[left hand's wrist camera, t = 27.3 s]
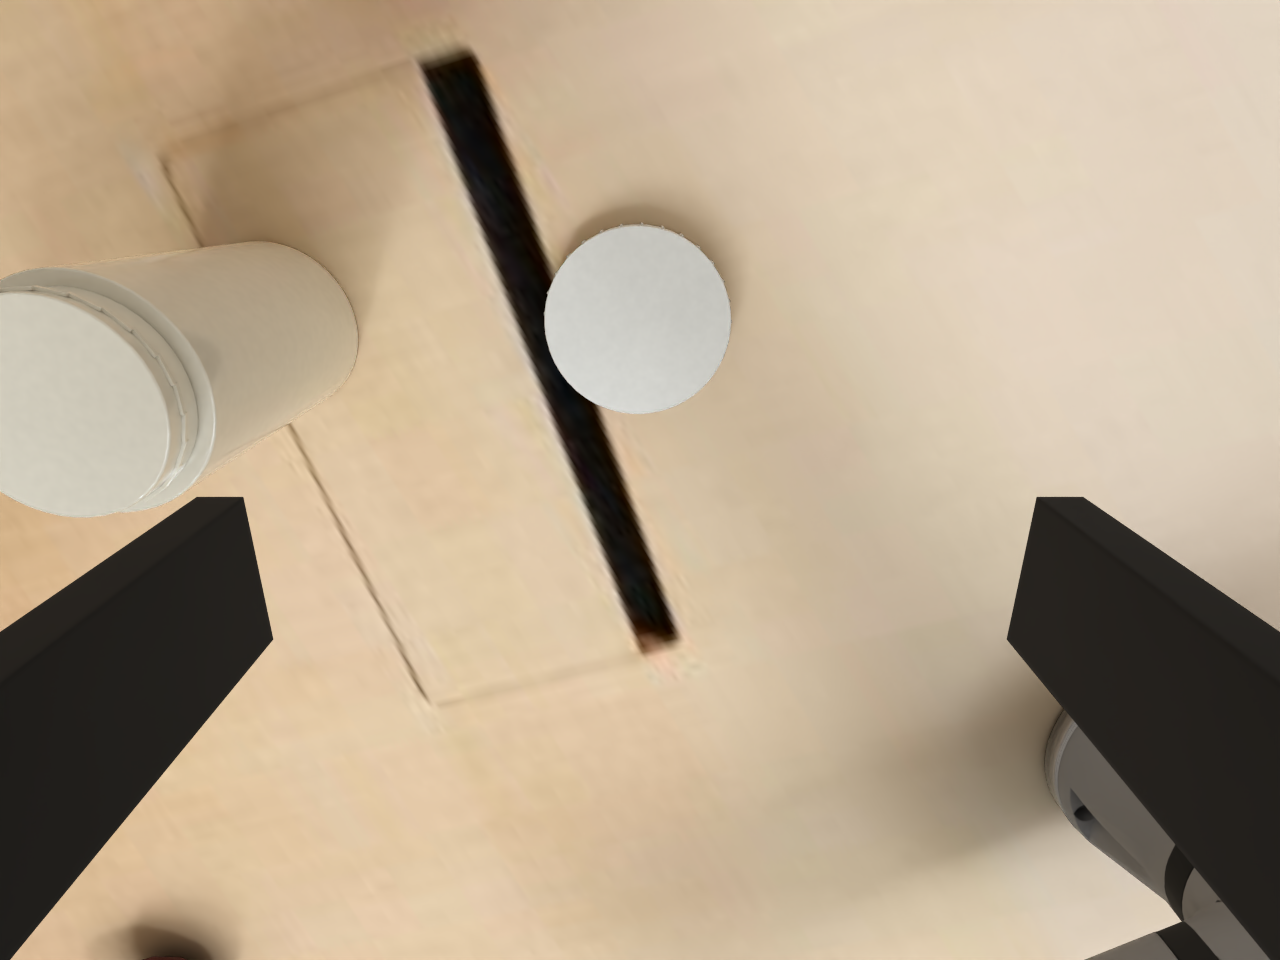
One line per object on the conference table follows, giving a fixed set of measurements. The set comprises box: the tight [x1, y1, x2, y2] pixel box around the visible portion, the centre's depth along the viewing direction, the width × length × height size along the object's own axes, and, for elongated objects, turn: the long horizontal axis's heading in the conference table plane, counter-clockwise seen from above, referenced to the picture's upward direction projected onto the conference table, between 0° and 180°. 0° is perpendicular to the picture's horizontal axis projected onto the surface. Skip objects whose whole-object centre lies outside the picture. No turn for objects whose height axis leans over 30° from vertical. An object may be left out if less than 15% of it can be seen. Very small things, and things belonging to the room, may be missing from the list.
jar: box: [0, 241, 358, 517], centre depth 30 cm, size 8×8×15 cm
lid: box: [544, 222, 732, 414], centre depth 35 cm, size 9×9×2 cm
